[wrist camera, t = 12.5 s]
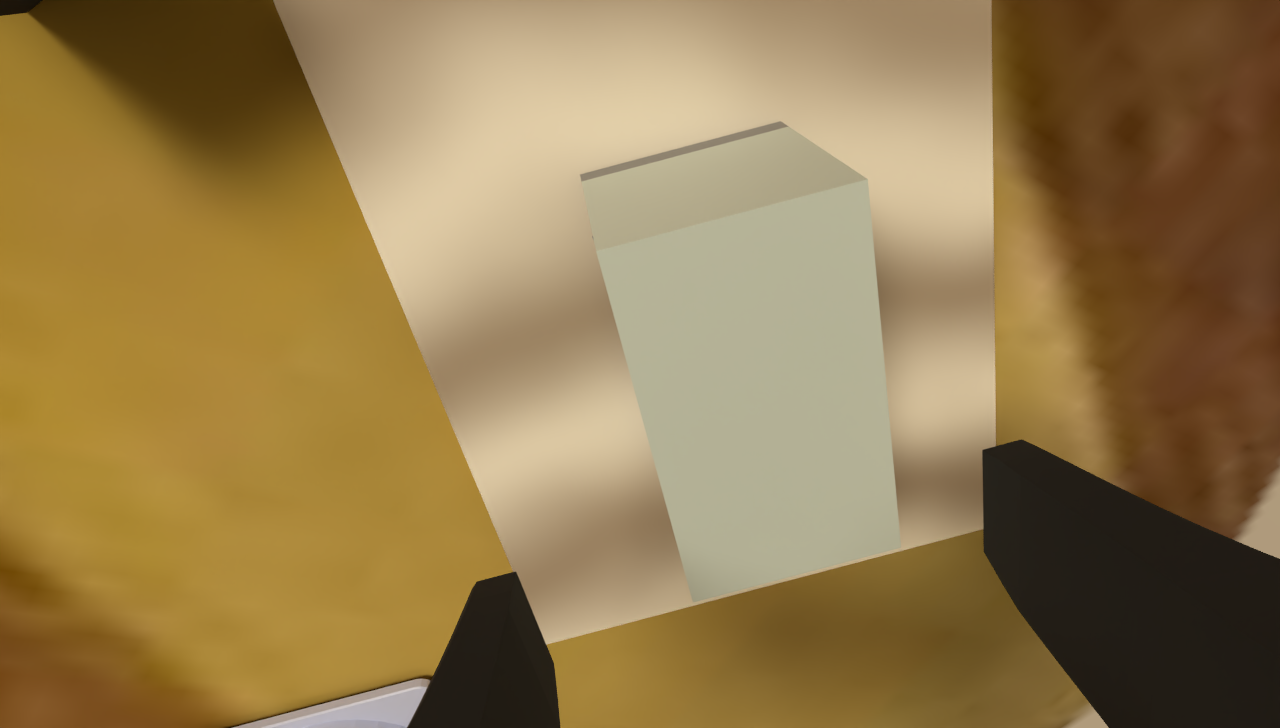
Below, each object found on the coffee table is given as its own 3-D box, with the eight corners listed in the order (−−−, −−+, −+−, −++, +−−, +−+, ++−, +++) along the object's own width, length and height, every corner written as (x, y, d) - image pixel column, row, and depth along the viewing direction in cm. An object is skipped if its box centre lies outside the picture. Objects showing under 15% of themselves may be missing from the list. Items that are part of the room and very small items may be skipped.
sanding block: (822, 421, 21) (901, 547, 16) (659, 465, 21) (693, 602, 16) (780, 120, 17) (868, 179, 12) (580, 174, 17) (595, 251, 12)
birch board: (976, 500, 24) (997, 526, 23) (543, 615, 24) (544, 646, 23) (958, -181, 16) (991, -192, 15) (290, -3, 16) (272, 0, 15)
